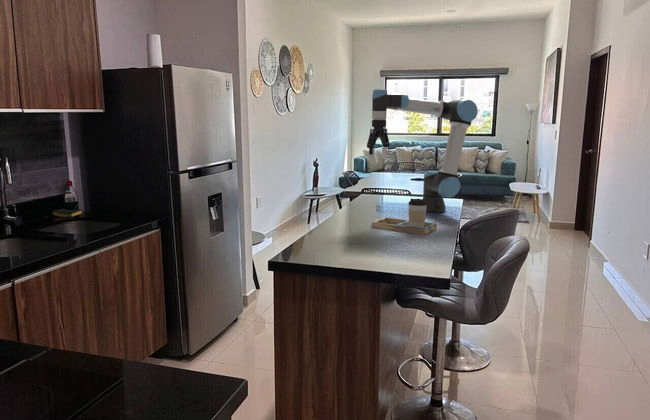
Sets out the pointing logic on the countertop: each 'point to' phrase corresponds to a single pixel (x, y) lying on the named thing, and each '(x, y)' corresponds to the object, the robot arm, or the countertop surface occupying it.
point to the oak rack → (403, 226)
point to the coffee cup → (417, 212)
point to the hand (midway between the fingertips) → (378, 160)
